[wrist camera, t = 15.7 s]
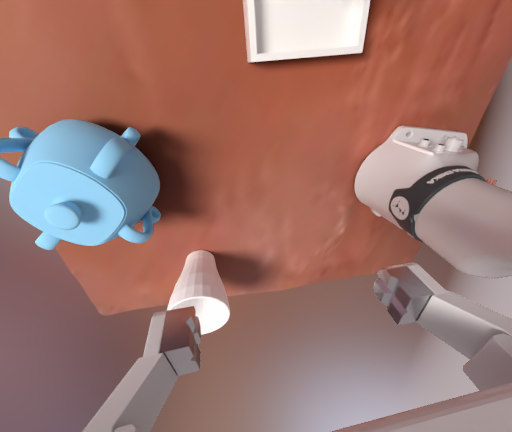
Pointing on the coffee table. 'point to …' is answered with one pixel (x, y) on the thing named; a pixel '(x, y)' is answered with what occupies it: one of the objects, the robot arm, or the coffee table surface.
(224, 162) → the coffee table surface
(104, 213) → the decorative pot
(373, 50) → the coffee table surface
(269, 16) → the tray
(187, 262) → the cup
